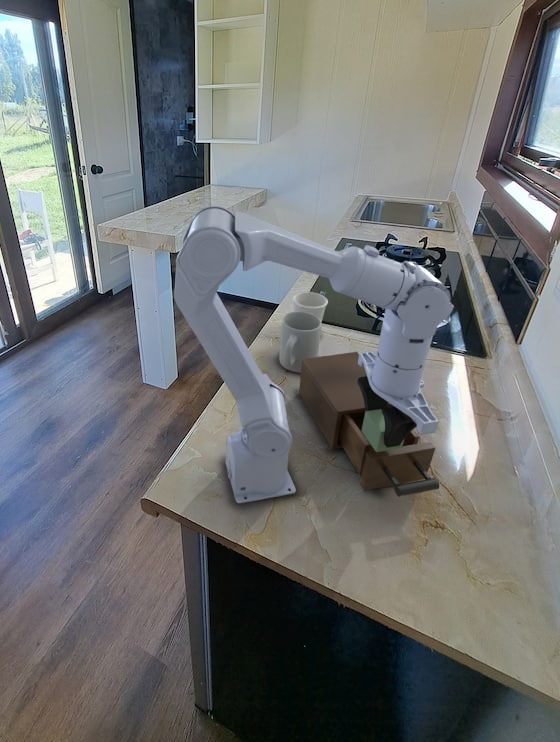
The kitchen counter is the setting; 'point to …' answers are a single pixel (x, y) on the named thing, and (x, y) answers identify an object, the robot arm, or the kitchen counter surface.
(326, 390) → the cabinet
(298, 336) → the mug
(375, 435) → the block
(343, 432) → the drawer
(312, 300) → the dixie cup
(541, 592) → the kitchen counter surface
